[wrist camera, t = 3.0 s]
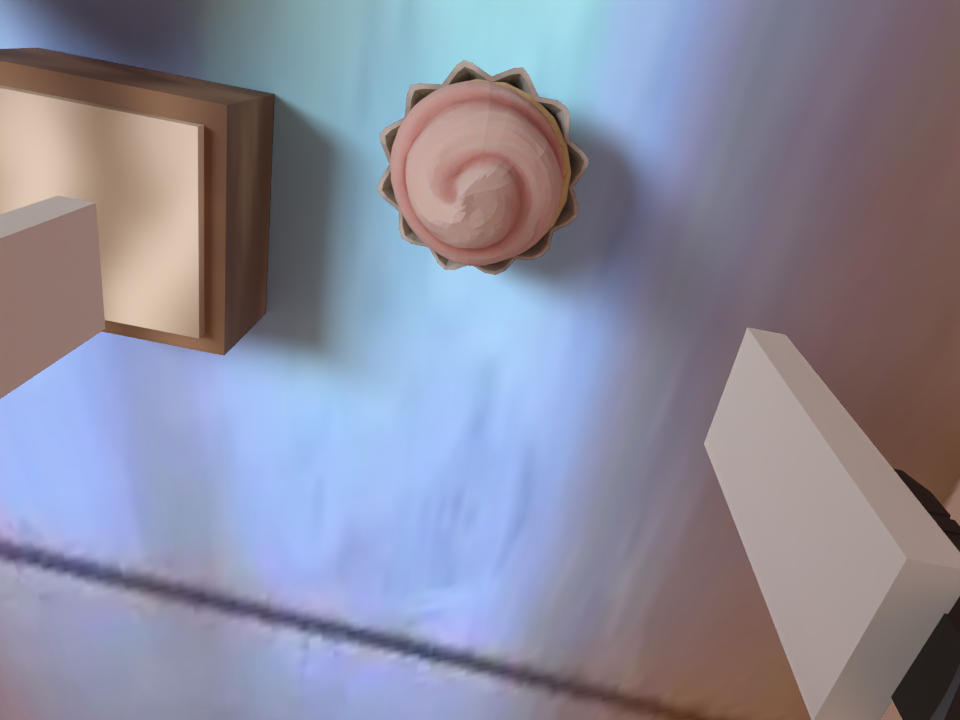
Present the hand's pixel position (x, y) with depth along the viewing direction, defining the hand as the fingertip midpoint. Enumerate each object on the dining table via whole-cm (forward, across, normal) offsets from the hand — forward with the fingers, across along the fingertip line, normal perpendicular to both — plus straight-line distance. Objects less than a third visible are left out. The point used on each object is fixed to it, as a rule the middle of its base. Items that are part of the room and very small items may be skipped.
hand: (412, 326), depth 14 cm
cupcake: (+23, 0, 0) cm, 23 cm away
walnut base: (+23, -17, -5) cm, 29 cm away
